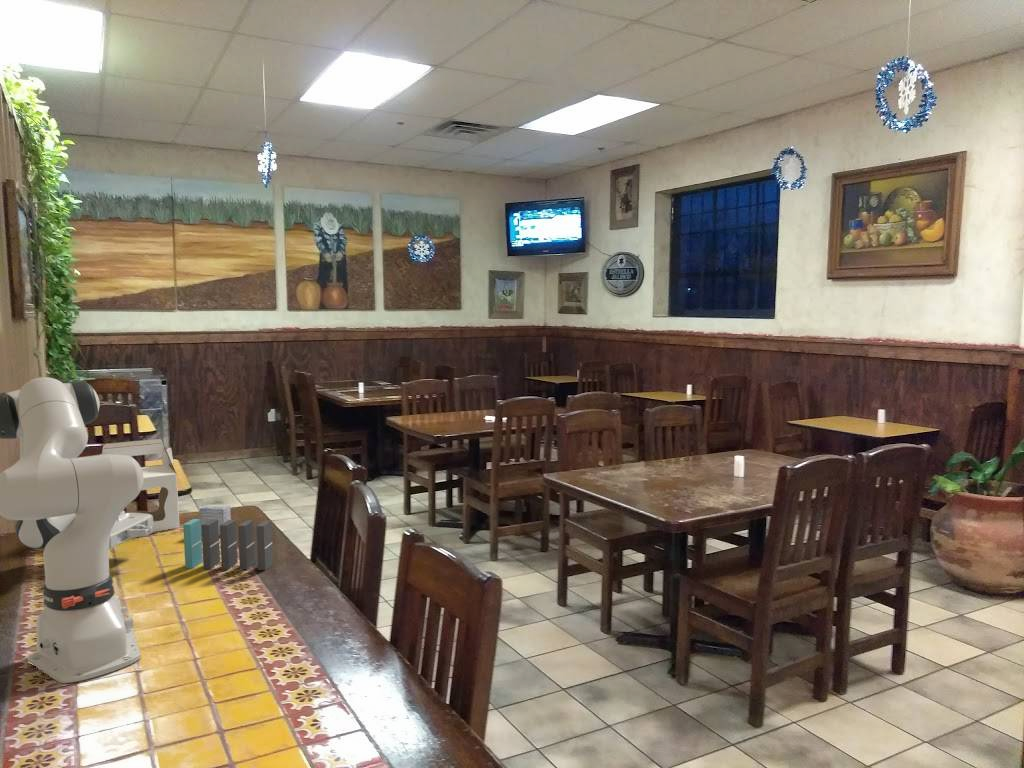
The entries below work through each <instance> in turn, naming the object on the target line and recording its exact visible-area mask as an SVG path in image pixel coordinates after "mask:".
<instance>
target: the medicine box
mask: <svg viewBox="0 0 1024 768" xmlns="http://www.w3.org/2000/svg"><path fill="white" fill-rule="evenodd" d="M198 512H199V513H198V514H199V519H200V523H201V525H202V524H204V523H205V522H207V521H209V520H211V519H218V527H219V537H220V525H221V524H223V523H224V522H226V521H228V520H232V519H231V518H232V517H231V505H229V504H227V505H225V504H206V505H203V506H202V507H200V508H199V509H198ZM201 537H202V526H201Z"/></svg>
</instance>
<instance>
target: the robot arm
mask: <svg viewBox="0 0 1024 768" xmlns="http://www.w3.org/2000/svg"><path fill="white" fill-rule="evenodd" d="M100 404H101V403H100V398H99V396H98V393H97V392H96V390H95V389H94V388H93V386H92V384H90V383H88V382H86V381H71V382H67V383H66V382H64V383H63V382H62V381H60V380H59V379H56V378H53V377H50V376H49V377H47V376H46V377H45V376H44V377H43V376H41V377H36V378H34V379H30V380H29V381H28V382H25V384H23V385H22V387H21V388H20V389H17V390H13V391H9V392H6V391H4V392H3V391H2V392H0V439H1V440H2V439H4V440H11V439H17V438H18V439H19V459H18V460H17V461H16V462H15V463H14V464H12V465H11V466H10V467H8V468H7V469H5V470H3V471H2V472H0V516H1V517H3V518H4V519H5V520H7V521H16V522H15V523H16V524H15V526H14V529H15V534H16V537H17V539H18V541H19V542H20V543H21V544H22V545H23V546H24V547H26V548H29V549H33V550H41V549H42V550H43V552H42V553H43V566H44V567H43V570H44V583H45V584H44V585H43V587H42V588H43V589H42V590H43V591H42V598H43V604H44V605H45V606H44V608H43V610H42V612H41V613H40V614H39V615H38V616H37V617H36V619H35V621H36V622H35V623H36V624H35V625H36V630H35V631H36V632H35V633H36V651H35V652H33V653H31V654H30V655H29V656H28V657H27V663H28V662H30V663H32V664H33V665H34V666H36V667H38V668H39V669H40V670H42V671H43V672H44V673H43V672H42V671H41V672H42V673H43V674H45V673H46V674H45V675H47V674H48V675H49V676H48V675H47V676H48V677H50V678H51V679H54V680H55V681H57V682H58V683H61V684H68V683H75V682H81V681H85V680H90V679H93V678H96V677H100V676H102V675H106V674H109V673H113V672H115V671H118V670H120V669H123V668H126V667H127V666H129V665H132V664H133V663H136V662H138V661H139V660H140V659H141V658H142V654H141V650H140V648H139V647H140V646H139V644H138V640H137V638H136V635H135V631H134V629H133V628H134V620H133V617H132V616H129V617H125V618H124V617H123V615H124V614H126V613H127V609H126V606H125V605H124V606H120V596H118V595H116V594H115V584H114V580H113V576H112V574H111V572H110V559H109V558H110V557H109V556H110V555H109V553H110V549H113V548H115V547H117V546H119V545H120V544H123V543H125V542H126V541H128V540H130V539H133V538H135V539H136V538H139V537H147V536H149V535H151V534H153V533H154V532H153V529H152V527H153V516H152V515H150V514H144V513H130V512H126V511H125V508H127V507H128V506H129V505H130V504H131V503H132V502H134V501H135V500H136V499H137V497H138V496H139V494H140V493H141V491H142V490H141V489H142V486H143V480H144V478H143V472H142V469H141V467H142V466H141V465H140V464H139V462H138V461H137V460H136V459H135V458H134V457H133V456H129V455H115V454H103V455H100V454H94V455H95V456H94V455H88V456H87V455H86V456H80V455H81V454H82V453H83V452H84V450H85V449H86V448H87V445H88V440H89V434H88V432H87V429H86V425H88V424H90V423H92V422H95V420H96V419H97V418H98V417H99V412H100V411H99V410H100ZM40 670H39V671H40Z"/></svg>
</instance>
